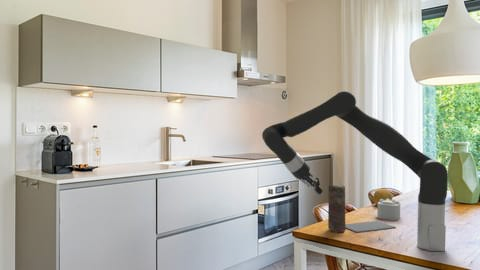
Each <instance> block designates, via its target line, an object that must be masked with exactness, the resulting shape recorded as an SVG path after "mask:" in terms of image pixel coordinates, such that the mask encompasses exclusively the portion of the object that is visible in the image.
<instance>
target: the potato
mask: <svg viewBox="0 0 480 270" xmlns="http://www.w3.org/2000/svg"><path fill="white" fill-rule="evenodd" d="M372 196H373V197H372V199H373V202H374V204H375V205H376V206H377V207H378V202H379V200H380V199H383V200H384V201H385V200H386V199H389V200H390V201H391V200H392V199H393V194H392V192H391V191H390V190H389V189H386V188H378V189H376V190H375V191H374V193H373V195H372Z"/></svg>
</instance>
